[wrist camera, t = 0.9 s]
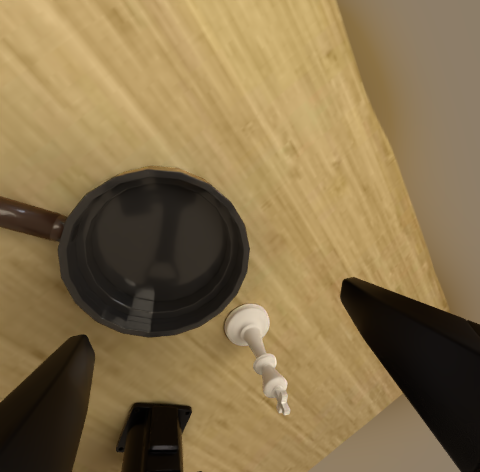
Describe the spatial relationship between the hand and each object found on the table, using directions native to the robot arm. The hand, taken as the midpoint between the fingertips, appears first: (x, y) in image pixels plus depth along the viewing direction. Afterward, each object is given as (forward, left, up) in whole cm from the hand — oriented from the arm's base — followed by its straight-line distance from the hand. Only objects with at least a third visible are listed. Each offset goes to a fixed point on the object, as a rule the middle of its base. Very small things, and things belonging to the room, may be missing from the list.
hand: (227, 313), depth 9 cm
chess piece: (-9, -10, -14) cm, 20 cm away
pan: (-3, +1, -14) cm, 14 cm away
